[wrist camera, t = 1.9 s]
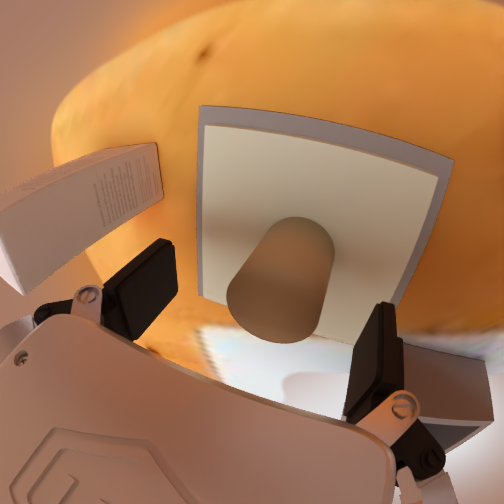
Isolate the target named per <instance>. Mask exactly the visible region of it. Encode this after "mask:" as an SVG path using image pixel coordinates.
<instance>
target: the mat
mask: <svg viewBox="0 0 504 504" xmlns="http://www.w3.org/2000/svg"><path fill="white" fill-rule="evenodd" d="M208 124H225V125H234V126H243V127H251V128H258V129H265V130H272V131H278V132H284V133H290V134H296V135H301V136H306V137H311V138H316V139H321V140H325V141H330V142H334V143H338V144H342V145H347V146H350V147H354V148H358V149H362V150H366V151H369V152H373V153H376V154H380V155H383V156H386V157H390V158H393V159H396V160H399V161H402V162H405V163H408V164H411V165H414V166H417V167H420V168H423V169H425V170H428V171H431V172H434V173H435V174H436V175H437V176H438V181H437V184H436V188H435V191H434V194H433V197H432V200H431V203H430V206H429V209H428V212H427V215H426V218H425V221H424V224H423V226H422V229H421V232H420V234H419V237H418V239H417V242H416V244H415V247H414V249H413V252H412V254H411V257H410V259H409V261H408V264H407V266H406V268H405V270H404V273H403V275H402V277H401V279H400V281H399V283H398V286H397V288H396V290H395V292H394V294H393V296H392V298H391V300H390V302H389V303H392V304H394V305H395V310H396V308H397V306H398V304H399V302H400V300H401V298H402V296H403V294H404V292H405V290H406V288H407V286H408V284H409V282H410V280H411V278H412V276H413V274H414V272H415V270H416V268H417V265H418V263H419V261H420V259H421V256H422V254H423V252H424V249H425V247H426V244H427V242H428V240H429V237H430V235H431V232H432V229H433V227H434V224H435V221H436V219H437V216H438V213H439V210H440V207H441V205H442V202H443V199H444V195H445V192H446V189H447V186H448V183H449V179H450V176H451V172H452V168H453V165H454V160H452V159H450V158H448V157H445V156H443V155H440V154H438V153H435V152H433V151H430V150H427V149H425V148H422V147H419V146H416V145H413V144H410V143H407V142H404V141H401V140H398V139H395V138H392V137H388V136H385V135H382V134H378V133H375V132H371V131H367V130H364V129H360V128H356V127H352V126H348V125H344V124H339V123H335V122H330V121H325V120H320V119H315V118H310V117H304V116H299V115H293V114H286V113H279V112H272V111H264V110H256V109H246V108H235V107H221V106H200V107H199V126H198V152H197V265H198V292H199V295H200V296H202V297H203V265H202V193H203V156H204V133H205V125H208Z"/></svg>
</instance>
